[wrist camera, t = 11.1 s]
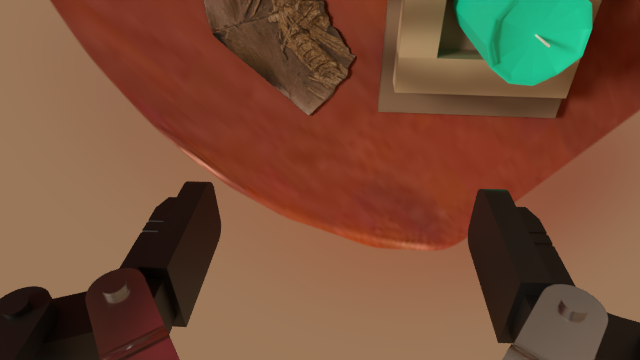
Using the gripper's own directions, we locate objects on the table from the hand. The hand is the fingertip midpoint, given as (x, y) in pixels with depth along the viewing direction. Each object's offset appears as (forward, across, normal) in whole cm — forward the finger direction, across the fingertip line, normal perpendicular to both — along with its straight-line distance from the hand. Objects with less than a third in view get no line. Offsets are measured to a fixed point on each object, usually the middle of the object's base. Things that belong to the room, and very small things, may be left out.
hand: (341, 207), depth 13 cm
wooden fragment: (+28, +8, -2) cm, 29 cm away
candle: (+26, -11, 0) cm, 28 cm away
